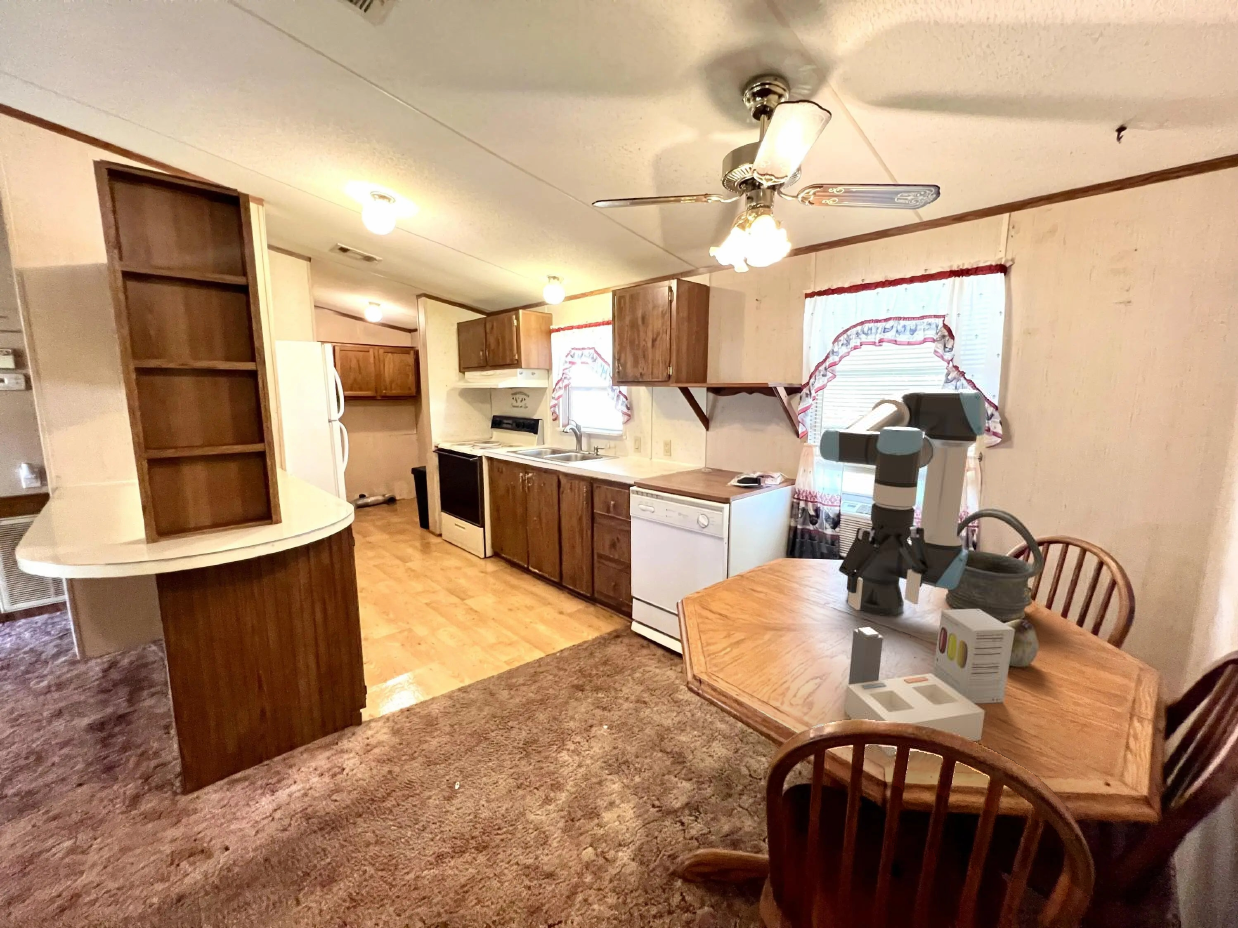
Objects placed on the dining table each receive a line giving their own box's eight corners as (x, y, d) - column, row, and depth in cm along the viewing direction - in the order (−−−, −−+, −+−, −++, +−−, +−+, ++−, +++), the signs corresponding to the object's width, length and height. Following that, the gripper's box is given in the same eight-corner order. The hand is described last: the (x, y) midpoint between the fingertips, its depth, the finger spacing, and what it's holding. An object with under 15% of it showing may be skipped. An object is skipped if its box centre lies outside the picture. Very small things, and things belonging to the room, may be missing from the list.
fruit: (1021, 677, 109) (1029, 629, 107) (975, 657, 117) (981, 611, 115) (1043, 666, 114) (1050, 619, 112) (997, 646, 122) (1003, 602, 120)
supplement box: (930, 677, 109) (939, 608, 106) (968, 675, 110) (978, 607, 107) (964, 705, 99) (974, 630, 97) (1005, 703, 100) (1016, 628, 97)
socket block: (926, 698, 102) (929, 671, 101) (980, 739, 90) (984, 710, 89) (843, 710, 98) (846, 683, 96) (888, 755, 86) (892, 725, 85)
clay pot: (968, 586, 158) (980, 498, 153) (1051, 618, 137) (1068, 517, 132) (920, 596, 151) (931, 504, 146) (1001, 632, 129) (1017, 525, 124)
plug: (864, 681, 107) (869, 625, 105) (877, 692, 103) (883, 634, 101) (848, 683, 106) (853, 627, 104) (861, 694, 103) (866, 636, 100)
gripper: (930, 497, 102) (919, 591, 105) (825, 502, 97) (817, 600, 100) (962, 506, 94) (949, 607, 98) (850, 512, 89) (841, 617, 93)
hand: (882, 604), depth 99 cm, fingers open, 13 cm apart
